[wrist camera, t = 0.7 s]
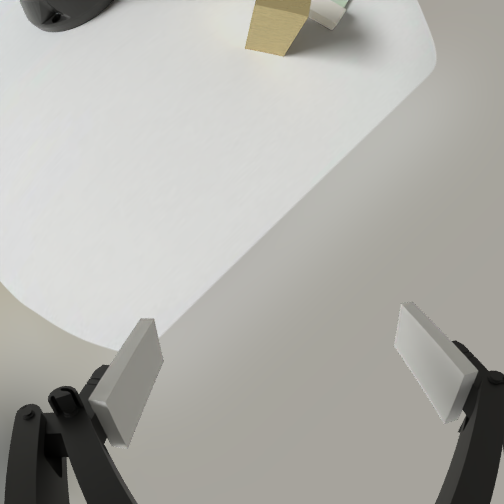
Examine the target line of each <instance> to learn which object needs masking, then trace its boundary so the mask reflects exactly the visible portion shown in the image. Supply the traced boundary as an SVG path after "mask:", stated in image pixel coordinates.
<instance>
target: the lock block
mask: <svg viewBox="0 0 504 504" xmlns="http://www.w3.org/2000/svg"><path fill="white" fill-rule="evenodd" d="M310 5H311V0H256V2H255V6H254V10H253V15H252V19H251V23H250V28H249V32H248V37H247V41H246V46H245V49H250V50H255V51H260V52H265V53H270V54H275V55H279V56H284V55H285V53H286V52H287V50H288V49H289V47H290V45H291V44H292V42H293V40H294V39H295V37H296V36H297V34H298V32H299V31H300V29H301V28H302V26H303V25H304V23H305V21H306V20H307V18H308V16H309V11H310Z"/></svg>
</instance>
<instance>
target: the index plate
mask: <svg viewBox="0 0 504 504" xmlns="http://www.w3.org/2000/svg"><path fill="white" fill-rule="evenodd" d="M331 1H333V2H335V3H336V4H338V5H340V6H341V7H343V8H344V7H345V5H346V3H347V2H348V0H331Z"/></svg>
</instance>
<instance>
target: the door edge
mask: <svg viewBox="0 0 504 504" xmlns="http://www.w3.org/2000/svg"><path fill="white" fill-rule="evenodd" d="M345 11H346V9H345V8H343V7H341V6H340V5H338V4H336V3H335V2H333V1H331V0H311V5H310V11H309V16H308V17H309V18H311V19H312V20H314V21H316V22H318V23H320V24H321V25H323V26H325V27H327V28H328V29H330V30H333V29H334V28H335V27H336V25H337V24H338V23H339V21H340V19H341V18H342V16H343V14H344V13H345Z"/></svg>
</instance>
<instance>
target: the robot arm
mask: <svg viewBox="0 0 504 504" xmlns="http://www.w3.org/2000/svg"><path fill="white" fill-rule="evenodd" d="M112 1H113V0H20V3H21V5H22V7H23V10H24V12H25V14H26V16H27V18H28V20H29V21H30V22H31V23H32V24H33V25H35V26H36V27H38V28H39V29H41V30H43V31H47V32H60V31H65V30H69V29H72V28H74V27H77V26H79V25H81V24H83V23H85V22H87V21H88V20H90V19H92V18H93V17H95V16H96V15H97V14H99V13H100V12H101V11H103V10H104V9H105V8H106V7H107V6H108V5H109V4H110V3H111V2H112ZM394 347H395V348H396V350H397V351H398V353H399V354H400V356H401V357H402V359H403V360H404V362H405V363H406V364H407V366H408V368H409V369H410V371H411V372H412V374H413V375H414V377H415V378H416V380H417V382H418V383H419V384H420V386H421V388H422V389H423V391H424V392H425V394H426V396H427V397H428V399H429V400H430V402H431V404H432V405H433V407H434V408H435V410H436V411H437V413H438V415H439V416H440V418H441V419H442V421H443V423H444V424H446V423H449V422H452V421H455V420H458V418H459V416H460V414H461V412H462V410H463V411H464V412H465V414H466V417H465V419H464V421H463V423H462V425H461V427H460V429H459V431H458V432H460V436H459V439H458V443H457V446H456V450H455V452H454V455H453V458H452V461H451V465H450V467H449V470H448V473H447V475H446V478H445V481H444V484H443V486H442V488H441V491H440V493H439V496H438V498H437V500H436V503H435V504H490V502H491V498H492V494H493V490H494V486H495V481H496V477H497V473H498V468H499V462H500V457H501V452H502V445H503V449H504V374H502V373H501V372H498V371H488V370H487V369H486V368H485V367H484V366H483V365H482V364H481V363H480V361H479V360H478V359H477V358H476V357H474V355H473V354H472V353H471V352H469V350H468V349H467V348H466V347H465V346H464V345H463V344H461V343H459V342H457V341H451V340H450V339H449V338H448V337H447V336H446V335H445V334H444V333H443V332H442V331H441V330H440V329H439V328H438V327H437V326H436V325H435V324H434V323H433V322H432V321H431V320H430V319H429V318H428V317H427V316H426V315H425V313H423V311H421V309H420V308H418V306H416V305H415V304H414V303H413V302H407V303H401V306H400V313H399V319H398V326H397V332H396V338H395V343H394ZM163 361H164V360H163V356H162V352H161V348H160V343H159V339H158V335H157V330H156V326H155V321H154V319H140V320H139V322H138V323H137V325H136V326H135V328H134V329H133V331H132V332H131V334H130V335H129V337H128V338H127V340H126V341H125V343H124V344H123V346H122V347H121V349H120V350H119V352H118V353H117V355H116V357H115V358H114V360H113V361H112V363H111V364H110V365H102V366H101V367H99V368H98V369H97V370H95V371H94V373H93V374H92V376H91V379H89V381H88V382H87V384H86V385H85V386H84V388H83V389H82V391H81V392H80V394H78V392H77V391H76V389H75V388H73V387H71V386H63V387H59V388H57V389H55V390H53V391H52V392H51V393H50V395H49V396H48V402H49V404H50V406H51V407H52V409H53V411H54V413H43V412H42V411H41V409H40V407H39V406H37V405H35V404H28V405H25V406H23V407H21V408H20V409H19V410H18V411H17V413H16V416H15V422H14V427H13V432H12V439H11V444H10V450H9V458H8V467H7V475H6V487H5V502H4V504H70V503H69V493H68V481H67V461H66V457H69V459H70V462H71V465H72V467H73V470H74V473H75V475H76V478H77V480H78V483H79V485H80V488H81V490H82V492H83V495H84V497H85V500H86V501H87V504H137V502H136V501H135V499H134V497H133V496H132V494H131V492H130V491H129V489H128V487H127V486H126V484H125V482H124V480H123V479H122V477H121V475H120V473H119V472H118V470H117V468H116V466H115V464H114V462H113V460H112V459H111V457H110V455H109V453H108V451H107V449H106V447H105V445H104V443H105V441H106V438H108V440H109V442H110V444H111V445H112V446H115V447H120V448H126V449H128V447H129V444H130V442H131V439H132V437H133V434H134V432H135V429H136V427H137V424H138V422H139V419H140V417H141V414H142V412H143V409H144V407H145V404H146V402H147V399H148V397H149V395H150V392H151V390H152V387H153V385H154V383H155V380H156V378H157V376H158V373H159V371H160V369H161V366H162V364H163Z"/></svg>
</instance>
